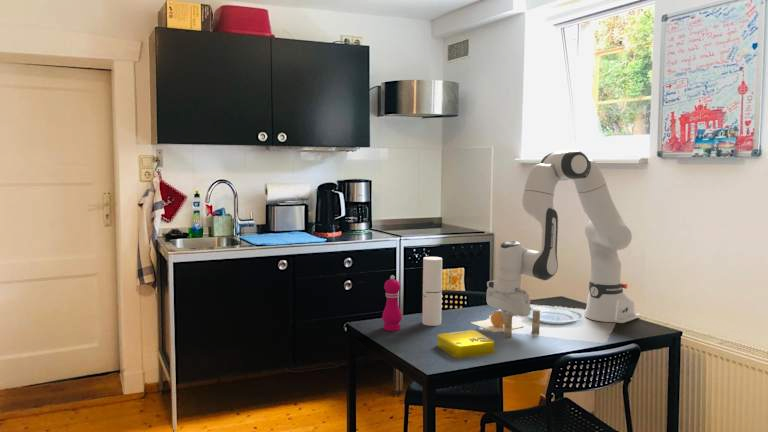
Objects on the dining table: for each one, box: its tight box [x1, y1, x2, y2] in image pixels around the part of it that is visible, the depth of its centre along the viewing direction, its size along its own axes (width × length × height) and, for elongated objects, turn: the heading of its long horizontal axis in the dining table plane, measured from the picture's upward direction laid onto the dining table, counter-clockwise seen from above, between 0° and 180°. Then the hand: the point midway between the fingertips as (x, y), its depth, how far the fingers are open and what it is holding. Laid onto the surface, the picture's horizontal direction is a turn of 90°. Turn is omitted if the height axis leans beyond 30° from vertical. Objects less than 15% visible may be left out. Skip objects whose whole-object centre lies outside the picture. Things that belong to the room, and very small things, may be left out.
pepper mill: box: [381, 274, 403, 332], centre depth 245 cm, size 7×7×20 cm
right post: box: [531, 309, 541, 334], centre depth 242 cm, size 3×3×8 cm
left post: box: [503, 314, 513, 339], centre depth 236 cm, size 3×3×8 cm
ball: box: [490, 310, 504, 327], centre depth 249 cm, size 6×6×6 cm
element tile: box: [436, 329, 495, 359], centre depth 223 cm, size 15×15×5 cm
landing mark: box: [470, 318, 524, 333], centre depth 252 cm, size 14×14×1 cm
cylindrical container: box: [421, 256, 443, 327], centre depth 252 cm, size 7×7×25 cm
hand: (507, 322), depth 246 cm, fingers closed
